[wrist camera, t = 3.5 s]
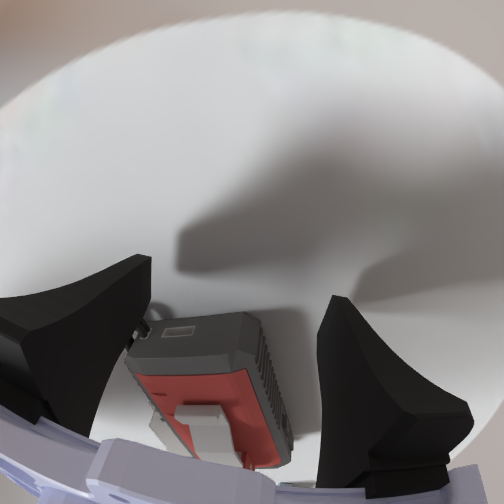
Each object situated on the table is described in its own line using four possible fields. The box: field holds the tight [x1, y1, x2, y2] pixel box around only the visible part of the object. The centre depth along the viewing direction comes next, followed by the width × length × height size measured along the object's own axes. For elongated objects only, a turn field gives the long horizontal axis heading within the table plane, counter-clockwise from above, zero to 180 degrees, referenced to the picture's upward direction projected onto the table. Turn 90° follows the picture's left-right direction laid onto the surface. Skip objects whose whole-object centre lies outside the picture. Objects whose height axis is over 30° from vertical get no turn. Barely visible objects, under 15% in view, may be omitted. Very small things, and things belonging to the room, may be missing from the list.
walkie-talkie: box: [124, 312, 294, 471], centre depth 17 cm, size 9×4×20 cm
